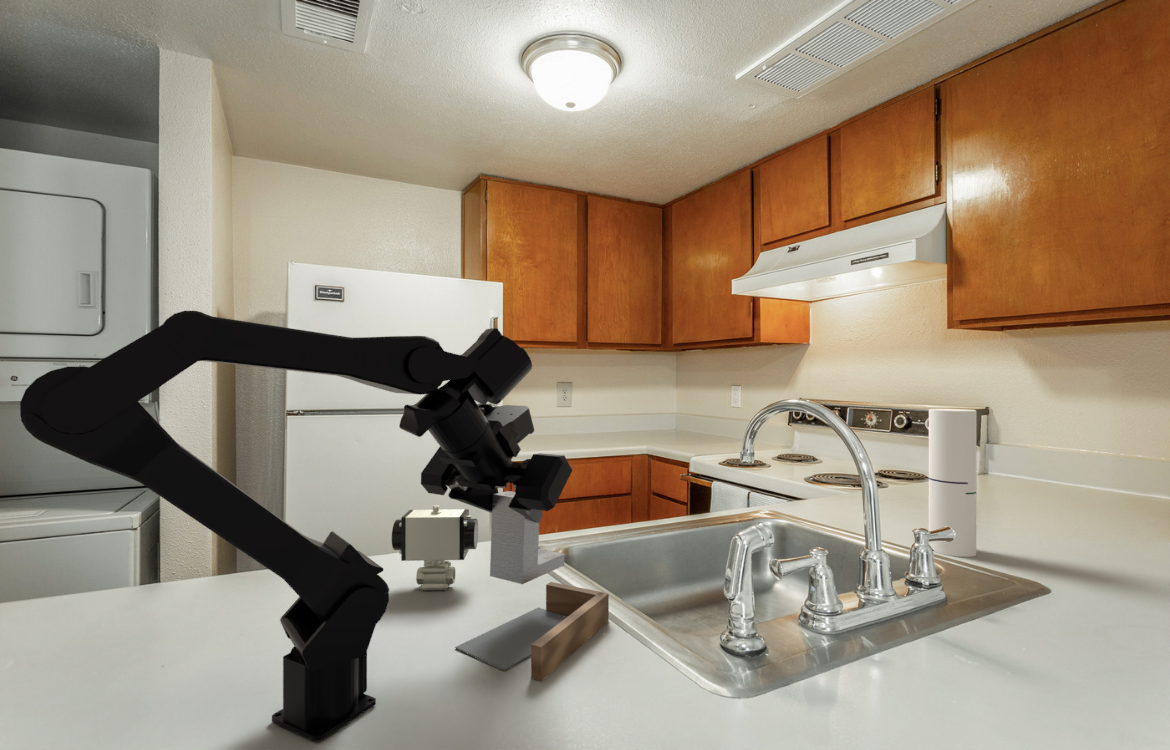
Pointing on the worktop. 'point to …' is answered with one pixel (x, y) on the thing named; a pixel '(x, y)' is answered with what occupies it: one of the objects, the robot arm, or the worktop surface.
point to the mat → (511, 639)
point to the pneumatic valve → (435, 543)
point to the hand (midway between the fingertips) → (522, 516)
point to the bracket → (517, 545)
